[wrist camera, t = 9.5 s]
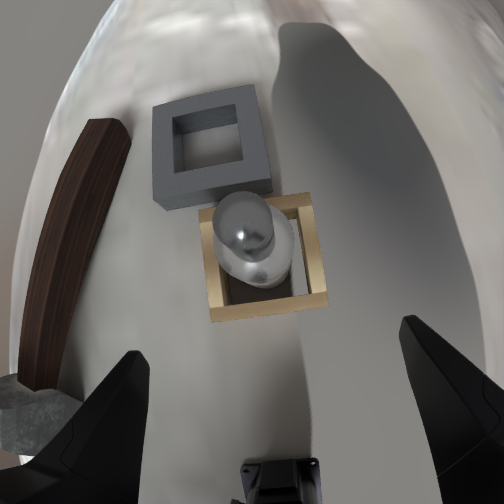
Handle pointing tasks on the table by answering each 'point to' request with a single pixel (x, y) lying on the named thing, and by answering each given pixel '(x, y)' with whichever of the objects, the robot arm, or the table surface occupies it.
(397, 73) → the table surface
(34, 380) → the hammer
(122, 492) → the robot arm
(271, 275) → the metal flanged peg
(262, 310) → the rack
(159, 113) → the socket
